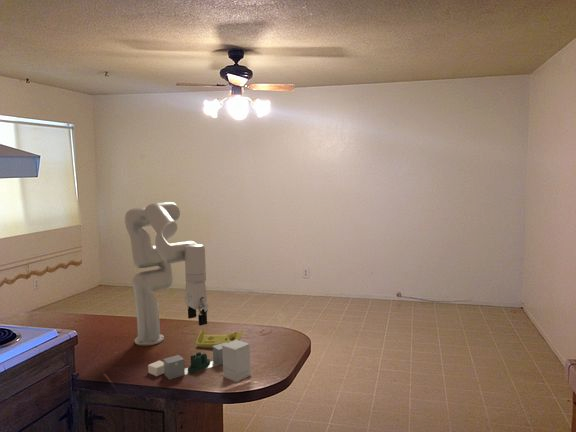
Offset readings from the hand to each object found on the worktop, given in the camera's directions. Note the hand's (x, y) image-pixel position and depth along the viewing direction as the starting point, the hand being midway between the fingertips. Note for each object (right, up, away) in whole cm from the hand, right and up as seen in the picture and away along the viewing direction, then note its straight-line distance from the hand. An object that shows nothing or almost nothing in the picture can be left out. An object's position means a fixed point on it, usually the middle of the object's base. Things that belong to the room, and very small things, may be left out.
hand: (197, 321), depth 179 cm
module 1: (-8, -19, -5) cm, 21 cm away
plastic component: (+5, -17, +24) cm, 30 cm away
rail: (+1, -19, +1) cm, 19 cm away
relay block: (-14, -20, -2) cm, 24 cm away
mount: (0, -18, +1) cm, 18 cm away
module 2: (+9, -17, +7) cm, 20 cm away
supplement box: (+16, -19, -7) cm, 26 cm away
